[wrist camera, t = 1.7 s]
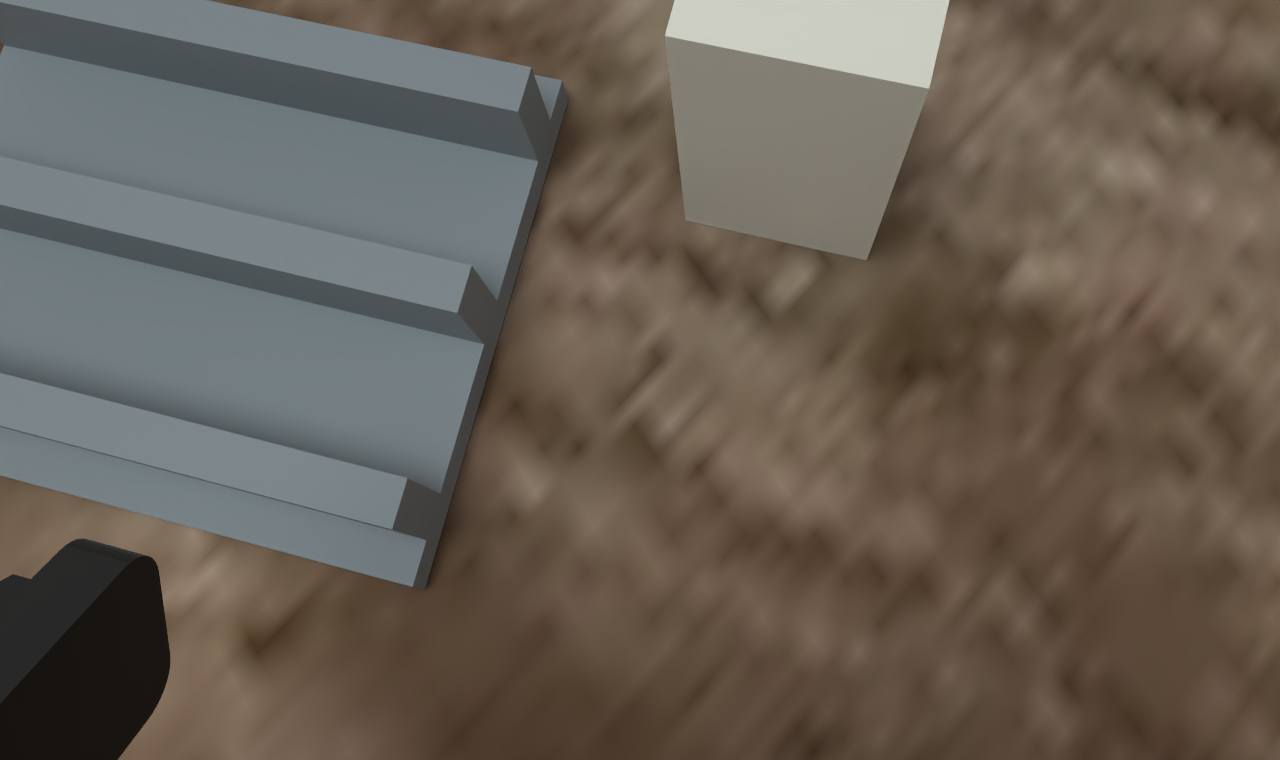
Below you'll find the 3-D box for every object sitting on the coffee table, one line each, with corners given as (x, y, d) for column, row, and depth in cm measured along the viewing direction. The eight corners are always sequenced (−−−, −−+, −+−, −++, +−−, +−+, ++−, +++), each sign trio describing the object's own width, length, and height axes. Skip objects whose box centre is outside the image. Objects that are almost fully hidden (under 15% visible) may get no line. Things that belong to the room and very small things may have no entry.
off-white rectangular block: (882, 191, 31) (951, -9, 21) (866, 260, 31) (929, 88, 21) (703, 153, 32) (691, -58, 22) (685, 220, 31) (664, 35, 22)
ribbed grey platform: (568, 100, 32) (544, 23, 28) (424, 588, 30) (376, 581, 26) (57, -7, 35) (-34, -93, 30) (-119, 441, 32) (-244, 413, 28)
